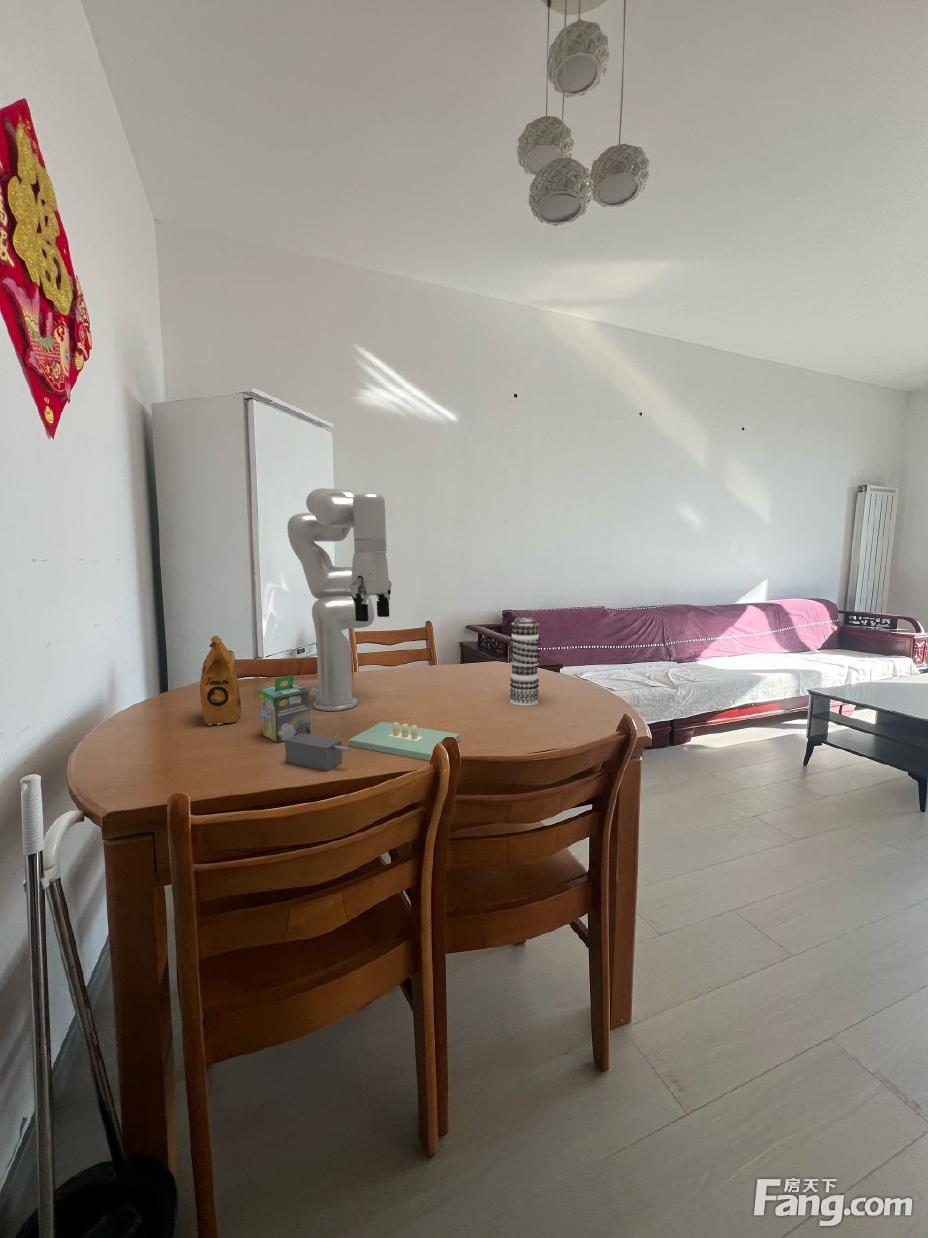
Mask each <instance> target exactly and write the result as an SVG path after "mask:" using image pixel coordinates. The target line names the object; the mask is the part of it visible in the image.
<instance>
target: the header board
mask: <svg viewBox="0 0 928 1238" xmlns="http://www.w3.org/2000/svg"><path fill="white" fill-rule="evenodd" d="M445 737H454V738H456V739H457V740H458V742H460V741H461V734H459V733H454V732H449V731H441V730H438V729H437V730H435V729H429V728H423V727H418V725H417V724H413V725H409V724H408V723H402V724H400V722H399V721H398V722H395V721H394V722H393V723H390V722H385V721H380V722H379V723H377V724H375V725H374V726H372V727H370V728H368V729H367V730H364V731H362V732H360V733H359V734H356V735H354V736H353V737H351V738H349V739H348V746H349V747H353V748H358V749H363V750H369V751H375V752H380V753H386V754H391V755H395V756H396V755H397V756H401V757H406V758H407V757H408V758H411V759H418V760H423V761H429V762H431V761H430V758H431V755H432V751H433V749H434V747H435V746H436V744H437V743H439V742H441V741H442V740H443V739H444V738H445Z"/></svg>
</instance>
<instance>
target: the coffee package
mask: <svg viewBox="0 0 928 1238" xmlns="http://www.w3.org/2000/svg"><path fill="white" fill-rule="evenodd" d="M210 640H211V643H210V644H209V648H210V651H209V652H208V653H207V655H206V656H205V658H204V661H203V663H202V669H201V676H200V683H199V684H200V686H199V693H200V702H201V703H200V704H201V709H202V716H203V721H204V724H206V725H207V724H218V723H231V722H236V721H237V720H238V721H239V718H240V716H241V714H242V703H241V702H242V700H241V692H240V685H239V680H238V675H237V671H236V667H235V664H234V660H233V657H232V655H231V653H230V650H229V649H228V648H227V647H226V646H225V645H224V643H223V642H222V638H221V637H220V636H218V635H213V636H211V638H210ZM238 721H237V722H238Z"/></svg>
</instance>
